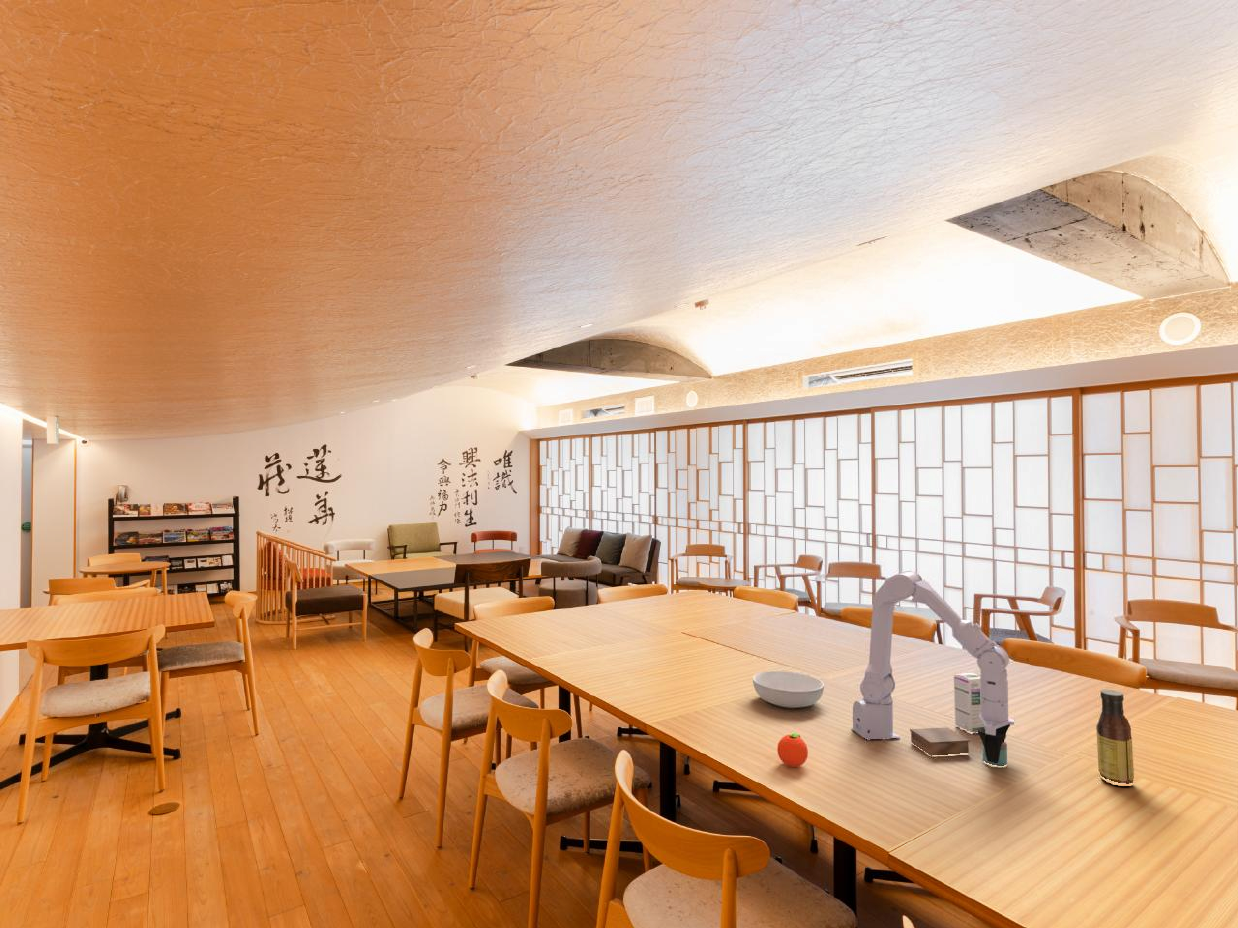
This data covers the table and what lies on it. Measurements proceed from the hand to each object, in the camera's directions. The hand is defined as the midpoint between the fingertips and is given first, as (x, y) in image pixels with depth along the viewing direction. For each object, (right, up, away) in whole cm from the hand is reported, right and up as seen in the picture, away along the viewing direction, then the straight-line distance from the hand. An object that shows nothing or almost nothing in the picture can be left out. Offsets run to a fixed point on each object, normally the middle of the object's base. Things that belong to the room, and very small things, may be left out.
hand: (994, 756), depth 149 cm
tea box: (-9, -2, +8) cm, 12 cm away
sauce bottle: (+21, -2, -9) cm, 23 cm away
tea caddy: (0, -2, 0) cm, 2 cm away
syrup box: (+6, -3, +21) cm, 22 cm away
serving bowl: (-38, -3, +41) cm, 56 cm away
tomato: (-48, -1, -2) cm, 48 cm away
